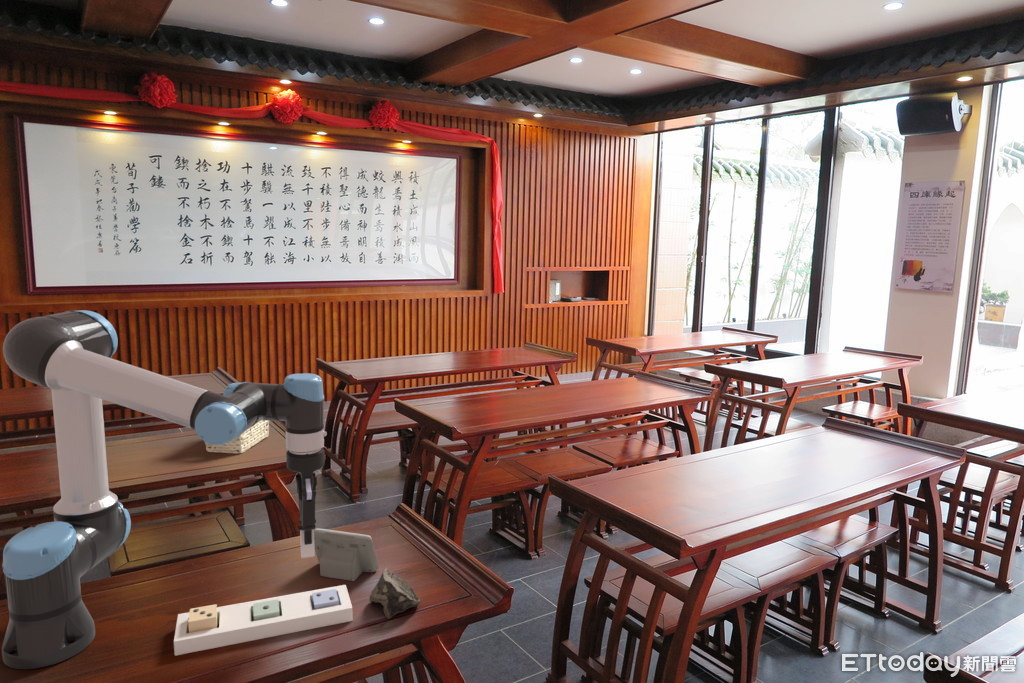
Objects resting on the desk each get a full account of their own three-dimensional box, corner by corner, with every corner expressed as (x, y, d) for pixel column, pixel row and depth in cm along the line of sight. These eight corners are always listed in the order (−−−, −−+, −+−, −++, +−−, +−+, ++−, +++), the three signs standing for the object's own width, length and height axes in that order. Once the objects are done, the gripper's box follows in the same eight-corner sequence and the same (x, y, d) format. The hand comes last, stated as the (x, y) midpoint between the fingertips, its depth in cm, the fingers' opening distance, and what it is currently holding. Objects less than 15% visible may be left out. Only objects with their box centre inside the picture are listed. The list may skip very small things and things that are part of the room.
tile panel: (174, 655, 130) (173, 641, 129) (179, 627, 139) (178, 614, 139) (352, 620, 142) (352, 607, 142) (346, 596, 152) (345, 584, 151)
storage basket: (241, 456, 243) (239, 416, 241) (199, 453, 245) (197, 414, 243) (273, 436, 267) (271, 400, 264) (234, 434, 269) (232, 398, 266)
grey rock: (432, 602, 149) (415, 574, 144) (402, 635, 144) (384, 607, 139) (402, 583, 156) (385, 555, 151) (373, 614, 151) (355, 586, 146)
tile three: (189, 638, 133) (188, 621, 132) (191, 624, 137) (189, 608, 137) (216, 633, 135) (215, 616, 134) (217, 620, 139) (216, 603, 139)
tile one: (254, 632, 138) (253, 615, 137) (253, 619, 142) (253, 603, 142) (280, 627, 139) (279, 611, 139) (278, 614, 144) (278, 598, 143)
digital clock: (382, 570, 164) (381, 529, 162) (358, 588, 156) (358, 545, 154) (330, 556, 170) (329, 516, 169) (305, 572, 162) (303, 530, 161)
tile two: (315, 620, 142) (314, 604, 141) (312, 608, 147) (312, 592, 146) (339, 616, 144) (338, 600, 143) (336, 603, 148) (335, 588, 148)
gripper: (328, 457, 134) (329, 567, 137) (320, 437, 145) (322, 539, 149) (288, 461, 131) (291, 573, 135) (284, 441, 143) (286, 544, 146)
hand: (307, 555), depth 142 cm, fingers closed
